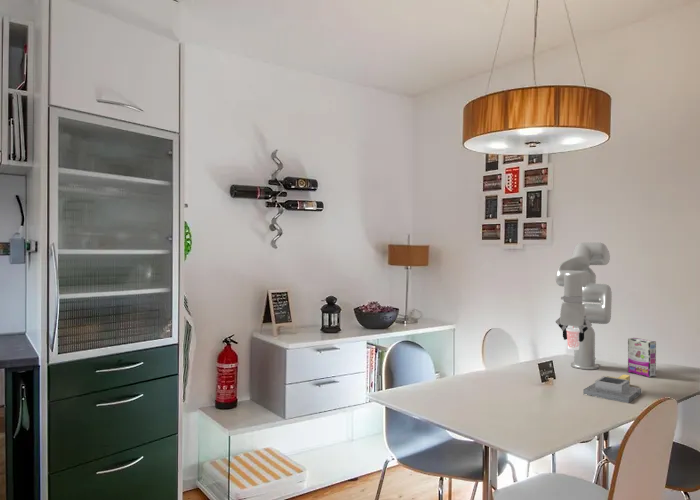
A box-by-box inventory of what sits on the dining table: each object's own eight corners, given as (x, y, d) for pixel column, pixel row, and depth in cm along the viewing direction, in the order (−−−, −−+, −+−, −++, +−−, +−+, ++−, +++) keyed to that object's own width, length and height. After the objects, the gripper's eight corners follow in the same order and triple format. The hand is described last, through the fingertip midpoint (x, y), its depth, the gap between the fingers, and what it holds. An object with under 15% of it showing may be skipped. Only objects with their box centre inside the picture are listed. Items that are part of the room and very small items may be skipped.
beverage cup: (568, 346, 234) (568, 315, 234) (582, 348, 230) (582, 317, 230) (564, 349, 229) (563, 317, 229) (578, 350, 225) (578, 318, 225)
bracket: (616, 382, 229) (616, 370, 229) (636, 386, 224) (636, 373, 224) (606, 389, 219) (606, 376, 219) (626, 393, 214) (626, 379, 214)
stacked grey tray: (597, 385, 225) (597, 373, 225) (641, 393, 213) (641, 380, 213) (583, 394, 213) (583, 381, 212) (628, 403, 201) (628, 388, 201)
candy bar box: (656, 376, 239) (656, 341, 239) (649, 377, 237) (649, 342, 237) (634, 371, 249) (634, 337, 249) (627, 372, 247) (627, 338, 247)
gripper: (550, 299, 232) (550, 339, 233) (590, 302, 220) (590, 344, 221) (557, 297, 238) (557, 336, 238) (596, 300, 226) (596, 341, 226)
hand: (573, 339), depth 230 cm, fingers closed on beverage cup, 6 cm apart
